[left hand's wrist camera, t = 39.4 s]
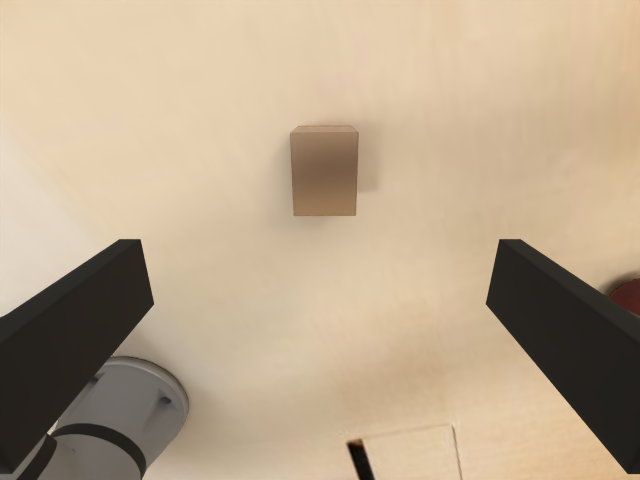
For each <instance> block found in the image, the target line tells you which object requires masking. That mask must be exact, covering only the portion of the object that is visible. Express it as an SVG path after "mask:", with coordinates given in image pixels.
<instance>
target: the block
mask: <svg viewBox="0 0 640 480" xmlns="http://www.w3.org/2000/svg"><path fill="white" fill-rule="evenodd" d="M290 137H291V162H292V186H293V210H294V216H355V215H356V195H357V163H358V132H357V131H356V130H355V129H354V128H353V127H352V126H298V127H297V128H296V129H295V130H293V131H292V132H291V133H290Z"/></svg>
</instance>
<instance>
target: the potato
mask: <svg viewBox="0 0 640 480" xmlns="http://www.w3.org/2000/svg"><path fill="white" fill-rule="evenodd" d="M609 299H611V300H612V301H614V302H615V303H617V304H618V305H620V306H621V307H623V308H624V309H626V310H628V311H630V312H632V313H634V314H637V315H639V316H640V279H634V280H632V281H630V282H628V283H626V284H624V285H622V286H621V287H619V288H618V289H616V290H615V291H614V292H613V293H612V294H611V295H610V296H609Z"/></svg>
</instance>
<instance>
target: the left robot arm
mask: <svg viewBox="0 0 640 480" xmlns="http://www.w3.org/2000/svg"><path fill="white" fill-rule="evenodd" d="M153 305H154V301H153V296H152V291H151V287H150V282H149V277H148V272H147V268H146V263H145V258H144V254H143V249H142V244H141V239H119V240H118V241H116V242H115V243H113V244H112V245H110V246H109V247H107V248H106V249H104V250H103V251H101V252H100V253H98V254H97V255H95V256H94V257H92V258H91V259H89V260H88V261H86V262H85V263H83V264H82V265H80V266H79V267H77V268H76V269H74V270H73V271H71V272H70V273H68V274H67V275H65V276H64V277H62V278H61V279H59V280H58V281H56V282H55V283H53V284H52V285H50V286H49V287H47V288H46V289H44V290H43V291H41V292H40V293H38V294H37V295H35V296H34V297H32V298H31V299H29V300H28V301H26V302H25V303H23V304H22V305H20V306H19V307H17V308H16V309H14V310H13V311H11V312H10V313H8V314H7V315H4V316H2V317H0V480H142V478H143V476H144V474H145V472H146V470H147V468H148V467H149V466H150V465H151V464H152V463H153V462H154V460H155V459H156V458H157V457H158V456H159V455H160V454H161V453H162V451H163V450H164V449H165V448H166V447H167V446H168V445H169V443H170V442H171V441H172V440H173V439H174V438H175V437H176V435H177V434H178V432H179V431H180V429H181V428H182V426H183V423H184V421H185V419H186V416H187V413H188V399H187V396H186V393H185V391H184V389H183V388H182V386H181V385H180V383H179V382H178V381H177V380H176V379H175V378H174V377H173V376H172V375H171V374H169V373H168V372H167V371H165V370H164V369H162V368H160V367H159V366H157V365H155V364H152V363H150V362H147V361H144V360H140V359H136V358H129V357H114V358H110V356H111V355H112V354H113V353H114V352H115V350H116V349H117V348H118V347H119V346H120V344H121V343H122V342H123V341H124V340H125V338H126V337H127V336H128V335H129V334H130V332H131V331H132V330H133V329H134V328H135V326H136V325H137V324H138V323H139V322H140V320H141V319H142V318H143V317H144V316H145V314H146V313H147V312H148V311H149V310H150V308H151V307H152V306H153ZM486 305H487V306H488V307H489V308H490V310H491V311H492V312H493V313H494V314H495V316H496V317H497V318H498V319H499V320H500V322H501V323H502V324H503V325H504V326H505V328H506V329H507V330H508V331H509V332H510V334H511V335H512V336H513V337H514V338H515V340H516V341H517V342H518V343H519V344H520V346H521V347H522V348H523V349H524V350H525V352H526V353H527V354H528V355H529V356H530V358H531V359H532V360H533V361H534V362H535V364H536V365H537V366H538V367H539V368H540V370H541V371H542V372H543V373H544V374H545V376H546V377H547V378H548V379H549V380H550V382H551V383H552V384H553V385H554V386H555V388H556V389H557V390H558V391H559V392H560V394H561V395H562V396H563V397H564V398H565V399H566V401H567V402H568V403H569V404H570V405H571V407H572V408H573V409H574V410H575V411H576V413H577V414H578V415H579V416H580V417H581V419H582V420H583V421H584V422H585V423H586V425H587V426H588V427H589V428H590V429H591V431H592V432H593V433H594V434H595V435H596V437H597V438H598V439H599V440H600V441H601V443H602V444H603V445H604V446H605V447H606V449H607V450H608V451H609V452H610V453H611V455H612V456H613V457H614V458H615V459H616V461H617V462H618V463H619V464H620V465H621V467H622V468H623V469H624V470H625V471H626V473H627V474H640V316H639V315H637V314H634V313H632V312H630V311H628V310H626V309H624V308H623V307H621V306H620V305H618V304H617V303H615V302H614V301H612V300H611V299H609V298H608V297H606V296H605V295H603V294H602V293H600V292H599V291H597V290H596V289H594V288H593V287H591V286H590V285H588V284H587V283H585V282H584V281H582V280H581V279H579V278H578V277H576V276H575V275H573V274H572V273H570V272H569V271H567V270H566V269H564V268H563V267H561V266H560V265H558V264H557V263H555V262H554V261H552V260H551V259H549V258H548V257H546V256H545V255H543V254H542V253H540V252H539V251H537V250H536V249H534V248H533V247H531V246H530V245H528V244H527V243H525V242H524V241H522V240H521V239H499V244H498V249H497V254H496V258H495V263H494V268H493V272H492V277H491V282H490V287H489V291H488V296H487V301H486ZM59 417H60V418H59ZM58 419H59V420H58ZM57 420H58V423H57V425H56V428H55V430H54V431H53V432H52V434H51V435H49V434H47V432H48V431H49V429H50V428H51V427H52V426H53V425H54V423H55V422H56V421H57Z"/></svg>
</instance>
